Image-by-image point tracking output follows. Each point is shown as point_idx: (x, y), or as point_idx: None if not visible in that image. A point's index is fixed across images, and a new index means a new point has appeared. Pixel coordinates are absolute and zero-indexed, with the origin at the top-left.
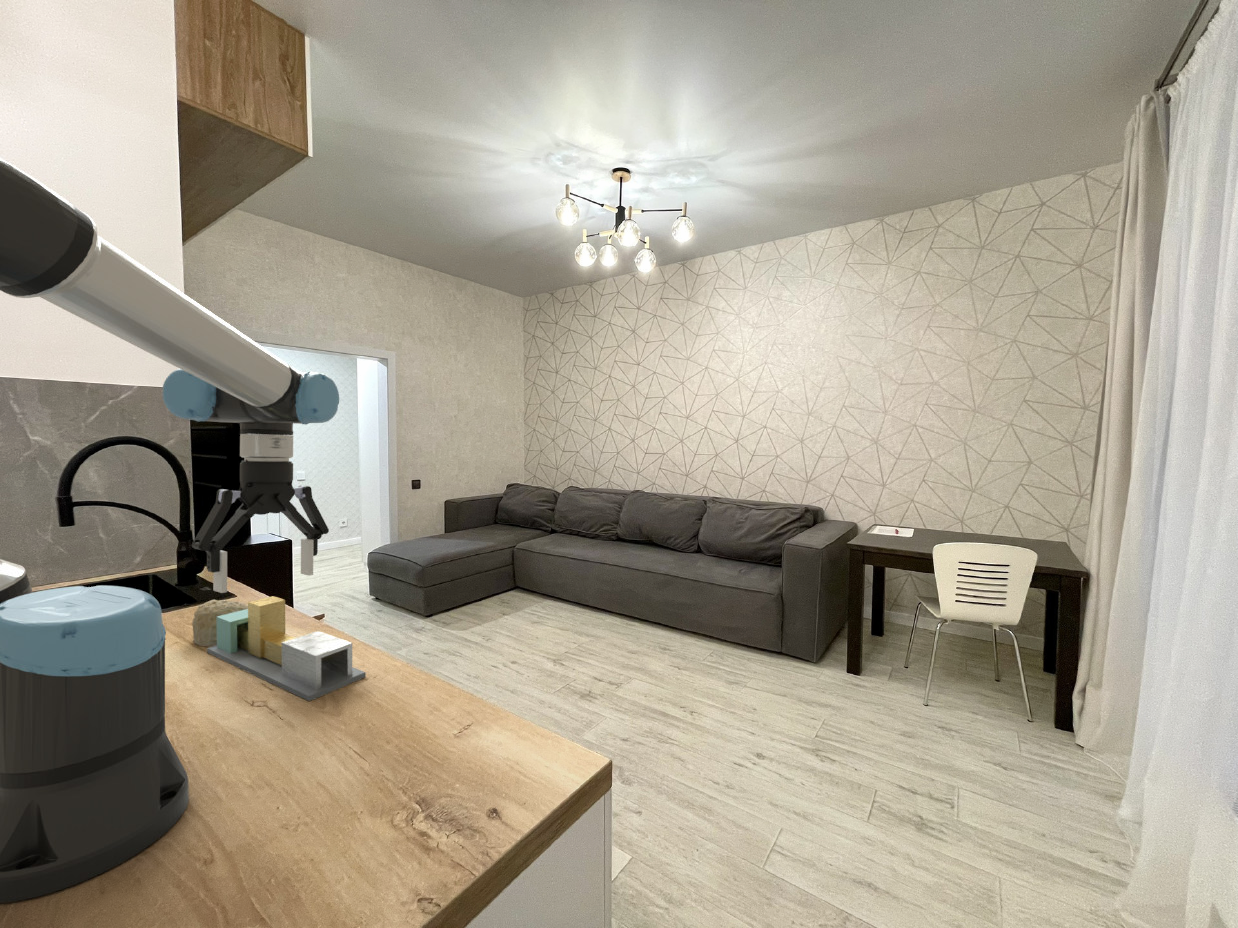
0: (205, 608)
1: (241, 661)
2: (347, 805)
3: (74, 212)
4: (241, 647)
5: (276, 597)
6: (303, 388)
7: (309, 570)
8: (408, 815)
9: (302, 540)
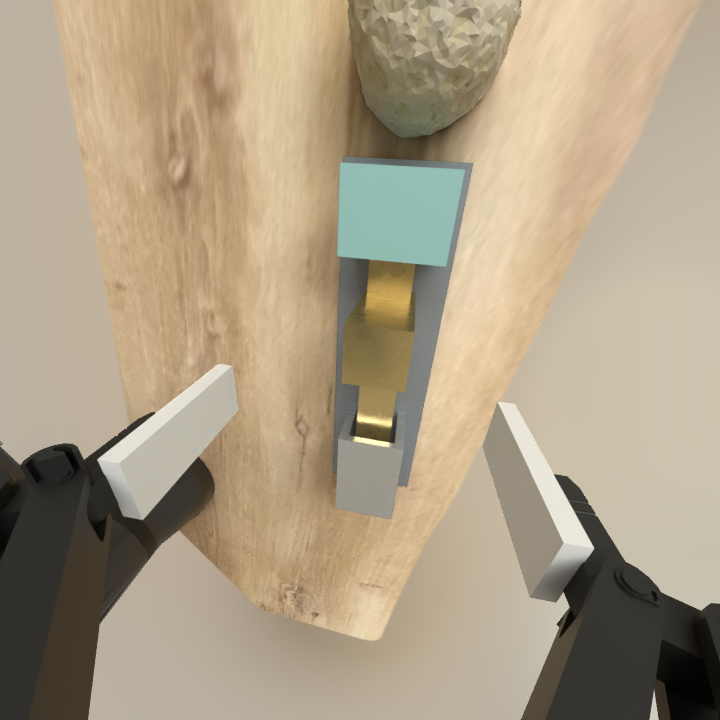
0: None
1: (344, 306)
2: (273, 563)
3: None
4: None
5: (410, 352)
6: None
7: (489, 460)
8: (289, 587)
9: (554, 543)
